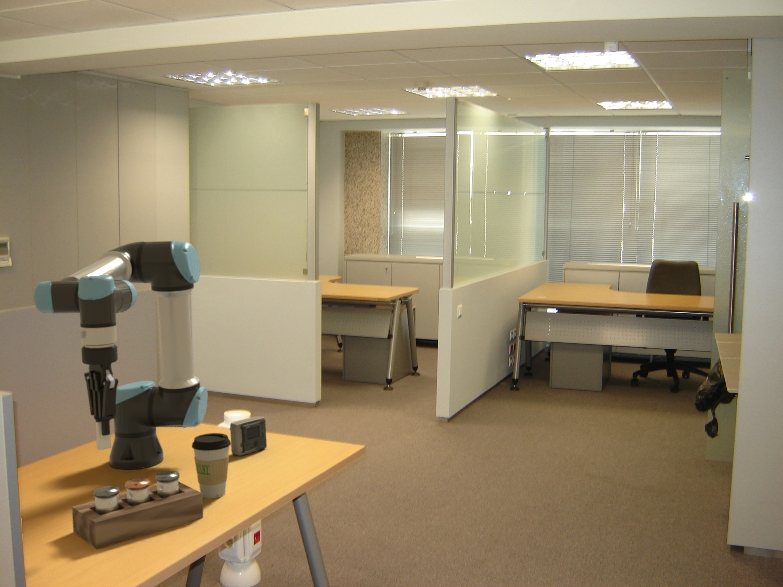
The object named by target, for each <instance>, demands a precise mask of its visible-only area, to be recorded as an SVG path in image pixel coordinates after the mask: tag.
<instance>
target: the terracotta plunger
mask: <svg viewBox="0 0 783 587" xmlns="http://www.w3.org/2000/svg"><path fill="white" fill-rule="evenodd" d="M124 487H125V488H126V493H127V504H129V505H130V506H136V505H139V504H143V503H147V502H150V495H149V487H151V479H149V478H147V477H137V478H132V479H131V478H130V479H129V480H127V481H125V482H124Z"/></svg>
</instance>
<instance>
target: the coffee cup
mask: <svg viewBox="0 0 783 587" xmlns="http://www.w3.org/2000/svg"><path fill="white" fill-rule="evenodd" d="M193 439H194V440H193V442H192V444H191V448H192V449H193V452H194V462H195V469H196V475H197V482H198V485H199V492H201V493H202V499H219V498H221V497H223V496H224V495H226V488H227V481H228V471H229V459H230V454H229V451H230V447H231V439H230V438H229V436H228V434H225V433H220V432H219V433H218V432H213V433H212V432H211V433H203V434H199V435H196V436H195V437H194V438H193Z"/></svg>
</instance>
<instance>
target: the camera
mask: <svg viewBox="0 0 783 587" xmlns="http://www.w3.org/2000/svg"><path fill="white" fill-rule="evenodd" d="M229 431H230V442H231V445H230V447H231V448H230V451H231V454H232V455H235V456H238V457H240V456H241V457H242V456H243V455H248V454H250V453H254V452H258V451H261V450H264V449H267V447H268V445H267V428H266V419H265V417H264V416H259V415H258V416H257V415H256V416H253V417H248V418H244V419H240V420H235V421H231V423H230V424H229Z"/></svg>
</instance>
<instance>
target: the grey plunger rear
mask: <svg viewBox="0 0 783 587" xmlns="http://www.w3.org/2000/svg"><path fill="white" fill-rule="evenodd" d="M179 478H180V472H178V470H177V471H176V470H165V471H160V472H157V473H156V474H155V475H154V480H155V481H156V485H157V496H159V497H161V498H165V497H169V496H173V495H177V494H179V482H180V481H179ZM178 481H179V482H178Z"/></svg>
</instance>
